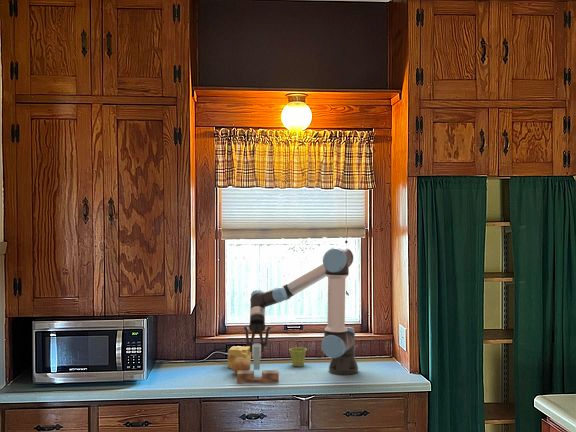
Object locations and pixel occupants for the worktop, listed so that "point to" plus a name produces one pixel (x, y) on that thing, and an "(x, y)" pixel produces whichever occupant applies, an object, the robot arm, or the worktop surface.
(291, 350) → the plant pot
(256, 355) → the grey upright block
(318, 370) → the worktop surface
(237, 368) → the potato
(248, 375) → the brown wooden u-shaped block
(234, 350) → the cheese
